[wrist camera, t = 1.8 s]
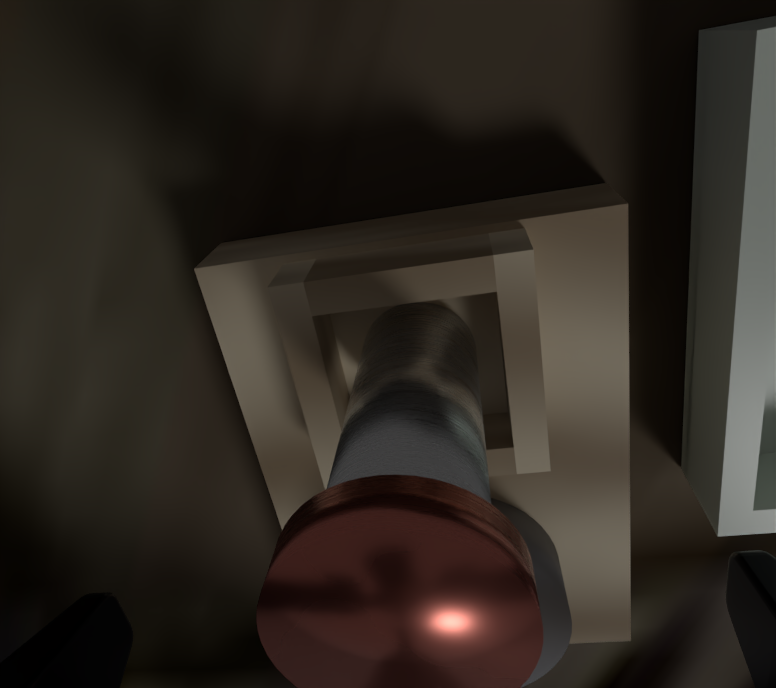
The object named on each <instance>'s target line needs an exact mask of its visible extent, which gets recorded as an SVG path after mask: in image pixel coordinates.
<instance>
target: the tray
mask: <svg viewBox="0 0 776 688" xmlns="http://www.w3.org/2000/svg"><path fill="white" fill-rule="evenodd" d="M681 469H682V471H683V473H684V475H685V477H686V478H687V480H688V482H689V484H690V486H691V488H692V490H693V491H694V493H695V495H696V497H697V499H698V501H699V503H700V505H701V506H702V508H703V510H704V512H705V514H706V516H707V518H708V519H709V521H710V523H711V525H712V527H713V529H714V531H715V532H716V534H717V536H732V535H747V534H761V533H776V16H772V17H767V18H761V19H756V20H751V21H745V22H740V23H735V24H729V25H724V26H719V27H714V28H708V29H703V30H699V39H698V64H697V89H696V114H695V138H694V163H693V188H692V213H691V237H690V262H689V287H688V312H687V337H686V361H685V386H684V411H683V436H682V460H681Z"/></svg>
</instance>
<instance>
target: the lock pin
mask: <svg viewBox="0 0 776 688" xmlns="http://www.w3.org/2000/svg"><path fill="white" fill-rule="evenodd" d="M256 620H257V628H258V633H259V637H260V640H261V643H262V645H263V647H264V649H265V651H266V653H267V655H268V657H269V658H270V660H271V661H272V662H273V664H274V665H275V667H276V668H277V669H278V670H279V671H280V672H281V673H282V674H283V675H284V676H285V677H286V678H287V679H288V680H289V681H290V682H291V683H292V684H294V685H295V686H296V687H297V688H520V687H521V686H522V685H523V684H524V683H525V682H526V681H527V680H528V678H529V677H530V675H531V674H532V672H533V671H534V669H535V668H536V666H537V663H538V661H539V658H540V656H541V652H542V647H543V624H542V618H541V612H540V606H539V600H538V594H537V588H536V581H535V575H534V569H533V564H532V559H531V555H530V552H529V550H528V547H527V544H526V542H525V541H524V539H523V537H522V536H521V534H520V532H519V531H518V529H517V528H516V527H515V526H514V525H513V523H512V522H511V521H510V520H509V519H508V518H507V517H506V516H505V515H504V514H503V513H502V512H501V511H500V510H498V509H497V508H496V507H494V506H493V505H492V504H491V495H490V484H489V474H488V464H487V454H486V444H485V434H484V423H483V413H482V403H481V393H480V383H479V373H478V362H477V352H476V344H475V340H474V337H473V334H472V332H471V331H470V329H469V327H468V326H467V324H466V323H465V322H464V321H463V320H462V319H461V318H460V317H459V316H458V315H457V314H455V313H454V312H453V311H451V310H449V309H448V308H445V307H443V306H441V305H437V304H434V303H429V302H416V303H408V304H401V305H397V306H395V307H393V308H391V309H389V310H387V311H386V312H384V313H383V314H381V315H380V316H379V317H378V318H377V319H376V320H375V321H374V322H373V324H372V325H371V327H370V328H369V330H368V332H367V335H366V338H365V341H364V345H363V349H362V353H361V357H360V361H359V364H358V368H357V372H356V376H355V380H354V384H353V388H352V392H351V396H350V399H349V403H348V407H347V411H346V415H345V419H344V423H343V427H342V431H341V434H340V438H339V442H338V446H337V450H336V454H335V458H334V462H333V466H332V469H331V473H330V477H329V481H328V485H327V489H326V490H324V491H322V492H320V493H318V494H317V495H315V496H313V497H312V498H311V499H309V500H308V501H307V502H305V503H304V504H303V505H301V506H300V507H299V508H298V509H297V511H296V512H295V513H294V514H293V515H292V516H291V517H290V519H289V520H288V521H287V523H286V524H285V526H284V528H283V530H282V532H281V534H280V536H279V539H278V542H277V545H276V548H275V551H274V554H273V557H272V560H271V563H270V566H269V569H268V572H267V575H266V578H265V582H264V585H263V588H262V591H261V594H260V598H259V601H258V605H257V616H256Z"/></svg>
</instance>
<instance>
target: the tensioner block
mask: <svg viewBox="0 0 776 688" xmlns="http://www.w3.org/2000/svg"><path fill="white" fill-rule="evenodd" d="M194 270H195V273H196V276H197V279H198V282H199V285H200V288H201V291H202V294H203V297H204V300H205V303H206V306H207V309H208V312H209V315H210V318H211V321H212V324H213V327H214V330H215V333H216V336H217V339H218V341H219V344H220V347H221V350H222V353H223V356H224V359H225V362H226V365H227V368H228V371H229V374H230V377H231V380H232V383H233V386H234V389H235V392H236V395H237V398H238V401H239V404H240V407H241V410H242V413H243V416H244V419H245V422H246V424H247V427H248V430H249V433H250V436H251V439H252V442H253V445H254V448H255V451H256V454H257V457H258V460H259V463H260V466H261V469H262V472H263V475H264V478H265V481H266V484H267V487H268V490H269V493H270V496H271V499H272V502H273V504H274V507H275V510H276V513H277V516H278V519H279V522H280V525H281V528H282V530H283V528H284V526H285V524H286V523H287V521H288V520H289V519H290V517H291V516H292V515H293V514H294V513H295V512H296V511H297V509H298V508H299V507H300V506H301V505H303V504H304V503H305V502H307V501H308V500H309V499H311V498H312V497H313V496H315V495H317V494H318V493H320V492H322V491H324V490H326V489H327V485H328V481H329V477H330V473H331V469H332V466H333V462H334V458H335V454H336V450H337V446H338V442H339V438H340V434H341V431H342V427H343V423H344V419H345V415H346V411H347V407H348V403H349V399H350V396H351V392H352V388H353V384H354V380H355V376H356V372H357V368H358V364H359V361H360V357H361V353H362V349H363V345H364V341H365V338H366V335H367V332H368V330H369V328H370V327H371V325H372V324H373V322H374V321H375V320H376V319H377V318H378V317H379V316H380V315H381V314H383V313H384V312H386V311H387V310H389V309H391V308H393V307H395V306H397V305H401V304H408V303H416V302H429V303H434V304H437V305H441V306H443V307H445V308H448V309H449V310H451V311H453V312H454V313H455V314H457V315H458V316H459V317H460V318H461V319H462V320H463V321H464V322H465V323H466V324H467V326H468V327H469V329H470V331H471V332H472V334H473V337H474V340H475V344H476V352H477V362H478V373H479V383H480V393H481V403H482V413H483V423H484V434H485V444H486V454H487V464H488V474H489V484H490V495H491V504H492V505H493V506H494V507H496V508H497V509H498V510H500V511H501V512H502V513H503V514H504V515H505V516H506V517H507V518H508V519H509V520H510V521H511V522H512V523H513V525H514V526H515V527H516V528H517V529H518V531H519V532H520V534H521V536H522V537H523V539H524V541H525V542H526V544H527V547H528V550H529V552H530V555H531V559H532V564H533V569H534V575H535V581H536V588H537V594H538V600H539V606H540V612H541V618H542V624H543V647H542V652H541V656H540V658H539V661H538V663H537V666H536V668H535V669H534V671H533V672H532V674H531V675H530V677H529V678H528V680H527V681H526V682H525V683H524V684H523V685H522V686H521V687H524V686H526V685H528V684H530V683H532V682H534V681H535V680H537V679H539V678H540V677H542V676H543V675H545V674H546V673H547V672H548V671H550V670H551V669H552V668H553V667H554V666H555V665H556V664H557V663H558V662H559V660H560V659H561V658H562V656H563V655H564V653H565V651H566V649H567V647H568V645H569V643H592V642H614V641H631V595H630V425H629V256H628V203H627V202H626V201H625V200H624V199H623V198H622V197H621V196H620V195H619V194H618V193H617V192H615V191H614V190H613V189H612V188H611V187H610V186H609V185H608V184H607V183H602V184H596V185H590V186H583V187H577V188H570V189H564V190H558V191H551V192H545V193H538V194H532V195H525V196H519V197H513V198H506V199H500V200H493V201H487V202H481V203H474V204H468V205H461V206H455V207H448V208H442V209H436V210H429V211H423V212H416V213H410V214H404V215H397V216H391V217H384V218H378V219H371V220H365V221H359V222H352V223H346V224H339V225H333V226H327V227H320V228H314V229H307V230H301V231H294V232H288V233H282V234H275V235H269V236H262V237H256V238H250V239H243V240H237V241H230V242H224V243H220V244H219V245H218V246H217V247H216V248H215V249H214V250H213V251H212V252H211V253H210V254H209V255H208V256H207V257H206V258H205V259H204V260H203V261H202V262H200V263H199V264H198V265H197V266H196V267H195V268H194ZM521 687H520V688H521Z"/></svg>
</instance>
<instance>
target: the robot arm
mask: <svg viewBox="0 0 776 688" xmlns="http://www.w3.org/2000/svg"><path fill="white" fill-rule="evenodd" d="M726 603H727V608H728V612H729V615H730V618H731V621H732V623H733V626H734V629H735V632H736V635H737V637H738V640H739V643H740V646H741V649H742V651H743V654H744V657H745V660H746V663H747V665H748V668H749V671H750V674H751V677H752V680H753V682H754V685H755V688H776V558H775V557H773V556H772V555H771V554H769V553H767V552H765V551H761V550H756V551H740V552H734V553H732V554H731V556H730V558H729V563H728V575H727V586H726ZM132 641H133V631H132V627H131V624H130V622H129V621H128V619H127V617H126V615H125V613H124V611H123V609H122V607H121V605H120V603H119V601H118V600H117V598H116V596H115V595H113V594H112V593H108V592H107V593H92V594H87V595H84V596H83V597H81V598H80V599H79V600H77V601H76V602H75V603H74V604H72V605H71V606H70V607H69V608H67V609H66V610H65V611H64V612H63V613H61V614H60V615H59V616H58V617H56V618H55V619H54V620H53V621H51V622H50V623H49V624H48V625H47V626H45V627H44V628H43V629H42V630H40V631H39V632H38V633H37V634H35V635H34V636H33V637H32V638H31V639H29V640H28V641H27V642H26V643H24V644H23V645H22V646H21V647H19V648H18V649H17V650H16V651H15V652H13V653H12V654H11V655H10V656H8V657H7V658H6V659H5V660H3V661H2V662H1V663H0V688H120V684H121V681H122V677H123V674H124V671H125V667H126V664H127V660H128V657H129V653H130V650H131V646H132Z"/></svg>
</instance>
